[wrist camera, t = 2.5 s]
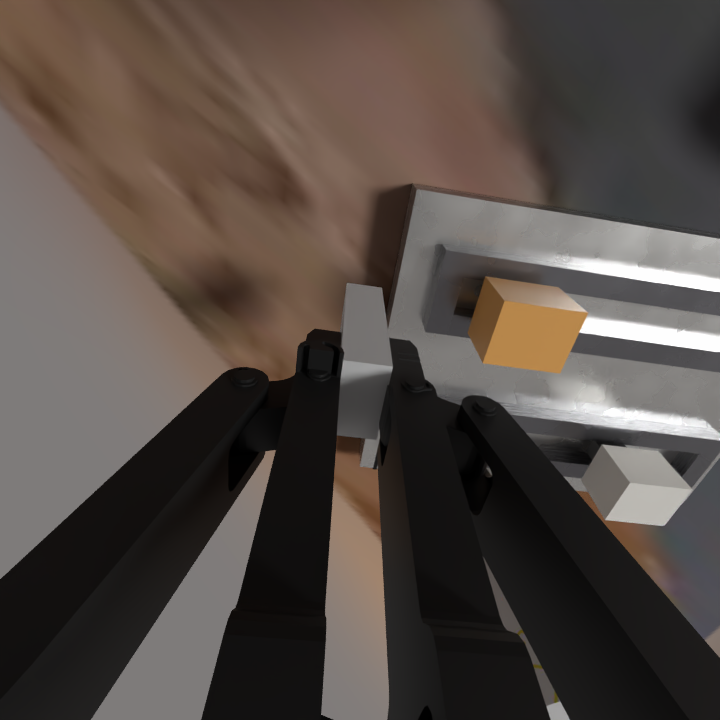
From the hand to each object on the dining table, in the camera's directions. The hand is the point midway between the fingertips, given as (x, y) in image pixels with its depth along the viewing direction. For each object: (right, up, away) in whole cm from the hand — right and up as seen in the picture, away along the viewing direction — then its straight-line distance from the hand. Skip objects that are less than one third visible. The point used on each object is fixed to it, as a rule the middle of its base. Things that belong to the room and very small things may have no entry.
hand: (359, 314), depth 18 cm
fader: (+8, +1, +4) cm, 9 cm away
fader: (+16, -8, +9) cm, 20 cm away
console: (+13, -2, +9) cm, 16 cm away
